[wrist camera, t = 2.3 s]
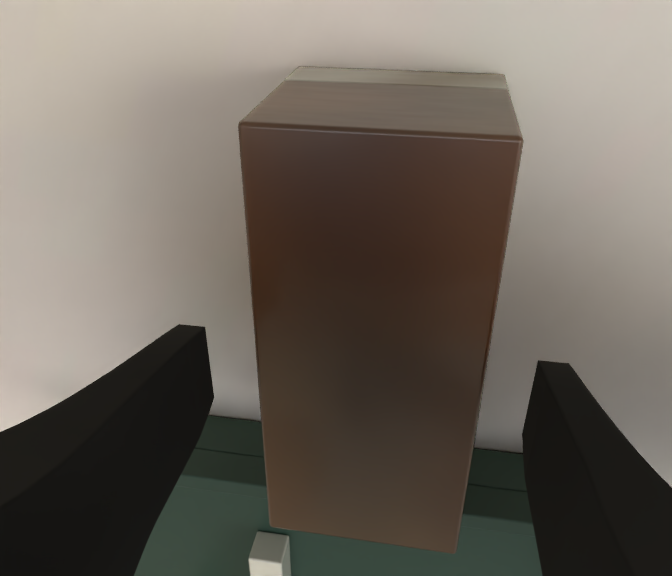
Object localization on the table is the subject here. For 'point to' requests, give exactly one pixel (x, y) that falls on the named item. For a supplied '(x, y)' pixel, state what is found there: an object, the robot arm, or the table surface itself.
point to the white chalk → (270, 555)
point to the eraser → (375, 292)
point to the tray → (323, 550)
